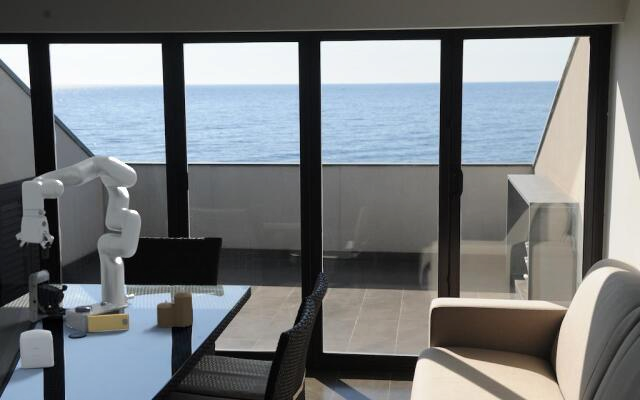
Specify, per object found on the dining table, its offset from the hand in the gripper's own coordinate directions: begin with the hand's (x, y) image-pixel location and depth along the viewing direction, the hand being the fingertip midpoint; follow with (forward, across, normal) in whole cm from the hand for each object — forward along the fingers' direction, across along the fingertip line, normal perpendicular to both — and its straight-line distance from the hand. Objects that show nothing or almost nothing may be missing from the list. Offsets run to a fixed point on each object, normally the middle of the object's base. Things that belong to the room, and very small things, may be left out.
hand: (35, 257), depth 303 cm
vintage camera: (+28, +3, -12) cm, 31 cm away
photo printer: (+28, -33, +38) cm, 57 cm away
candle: (+28, -46, -25) cm, 60 cm away
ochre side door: (+28, -28, -6) cm, 40 cm away
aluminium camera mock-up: (+28, -17, -13) cm, 35 cm away
